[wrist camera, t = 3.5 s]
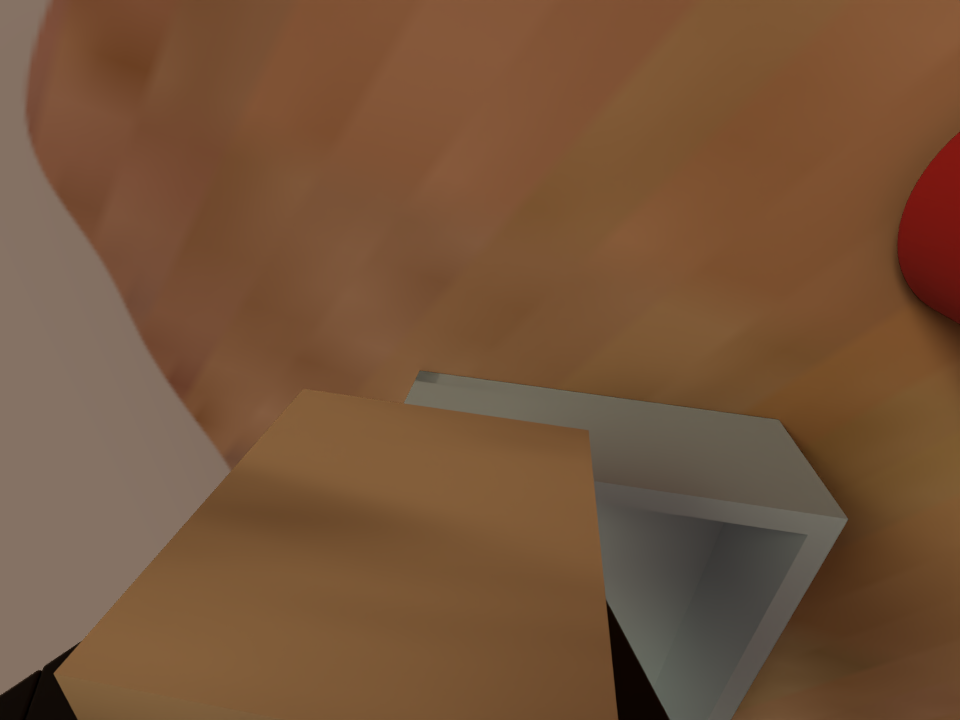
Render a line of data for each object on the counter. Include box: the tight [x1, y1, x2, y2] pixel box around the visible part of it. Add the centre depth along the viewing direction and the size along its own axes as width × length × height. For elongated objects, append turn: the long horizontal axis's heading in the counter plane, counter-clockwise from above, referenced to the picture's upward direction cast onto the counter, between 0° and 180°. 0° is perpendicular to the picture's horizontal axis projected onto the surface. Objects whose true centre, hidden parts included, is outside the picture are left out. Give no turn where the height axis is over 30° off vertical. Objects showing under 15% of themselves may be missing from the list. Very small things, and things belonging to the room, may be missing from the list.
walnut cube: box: [53, 389, 618, 720], centre depth 8 cm, size 5×5×5 cm
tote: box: [404, 371, 848, 720], centre depth 21 cm, size 18×14×5 cm
